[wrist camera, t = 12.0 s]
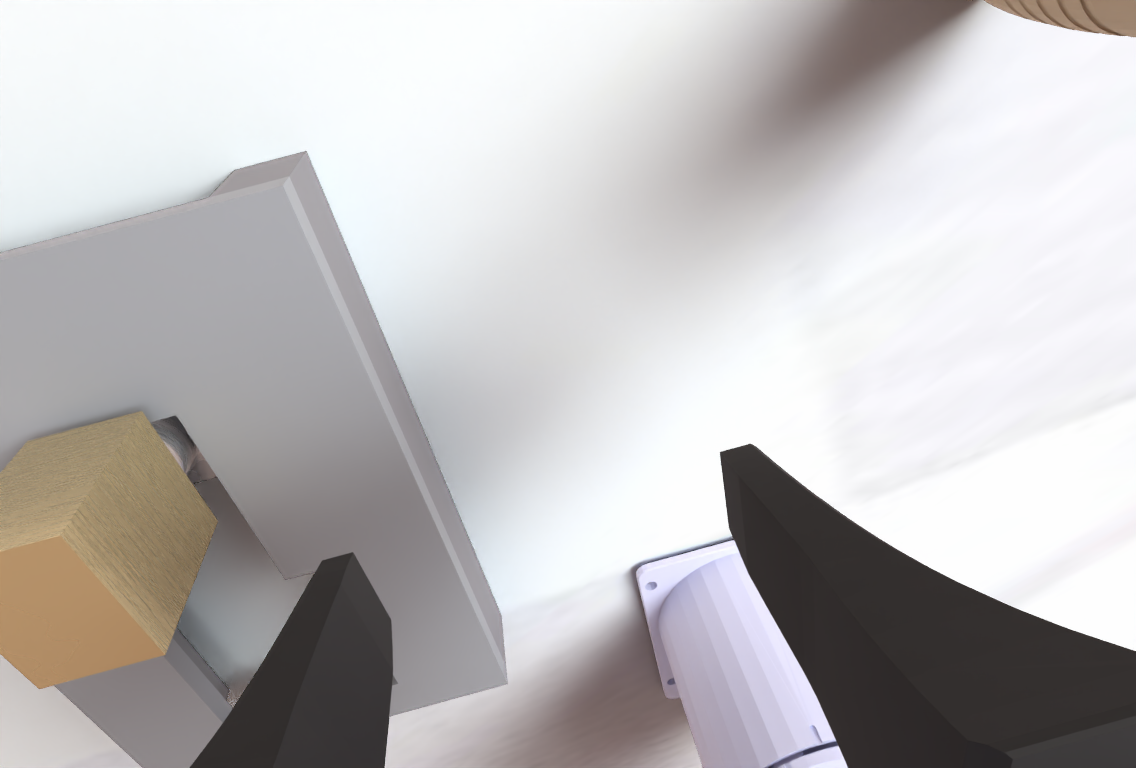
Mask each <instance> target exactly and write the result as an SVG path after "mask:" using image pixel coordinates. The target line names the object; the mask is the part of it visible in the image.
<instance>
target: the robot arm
mask: <svg viewBox="0 0 1136 768" xmlns="http://www.w3.org/2000/svg"><path fill="white" fill-rule="evenodd" d="M720 457H721V465H722V473H723V482H724V490H725V498H726V507H727V515H728V523H729V529H730V531H731V534H732V536H733V538H734V540H732V541H728V542H724V543H721V544H717V545H713V546H710V547H706V548H702V549H699V550H695V551H691V552H688V553H684V554H681V555H677V556H673V557H670V558H666V559H662V560H659V561H655V562H651V563H648V564H645V565H642V566H641V567H640V568H638V570H637V571H636V578H637V582H638V586H639V590H640V594H641V599H642V603H643V607H644V611H645V615H646V619H647V624H648V628H649V632H650V636H651V640H652V645H653V649H654V653H655V657H656V661H657V666H658V670H659V674H660V678H661V682H662V686H663V690H664V694H665V696H666V697H667V698H669V699H677V698H681V701H682V704H683V707H684V710H685V713H686V717H687V720H688V723H689V726H690V729H691V732H692V735H693V738H694V742H695V745H696V748H697V751H698V754H699V757H700V760H701V763H702V767H703V768H1136V651H1133V650H1130V649H1127V648H1124V647H1121V646H1118V645H1115V644H1112V643H1109V642H1106V641H1103V640H1100V639H1097V638H1094V637H1091V636H1088V635H1085V634H1082V633H1079V632H1076V631H1073V630H1070V629H1067V628H1065V627H1062V626H1059V625H1057V624H1054V623H1052V622H1049V621H1047V620H1044V619H1041V618H1039V617H1036V616H1034V615H1031V614H1029V613H1026V612H1023V611H1021V610H1019V609H1016V608H1014V607H1011V606H1009V605H1007V604H1005V603H1002V602H1000V601H998V600H996V599H994V598H991V597H989V596H987V595H985V594H983V593H980V592H978V591H976V590H974V589H972V588H969V587H967V586H965V585H963V584H961V583H958V582H956V581H954V580H952V579H950V578H948V577H947V576H945V575H943V574H941V573H939V572H937V571H935V570H933V569H931V568H929V567H927V566H925V565H924V564H922V563H920V562H918V561H916V560H915V559H913V558H911V557H909V556H907V555H906V554H904V553H902V552H901V551H899V550H897V549H895V548H894V547H892V546H890V545H889V544H887V543H886V542H884V541H882V540H881V539H879V538H877V537H876V536H874V535H873V534H871V533H870V532H868V531H867V530H865V529H864V528H862V527H860V526H859V525H857V524H856V523H854V522H853V521H852V520H850V519H849V518H847V517H846V516H844V515H843V514H841V513H840V512H839V511H837V510H836V509H834V508H833V507H832V506H830V505H829V504H827V503H826V502H825V501H823V500H822V499H821V498H819V497H818V496H816V495H815V494H814V493H812V492H811V491H810V490H808V489H807V488H806V487H805V486H803V485H802V484H801V483H799V482H798V481H797V480H796V479H794V478H793V477H792V476H791V475H789V474H788V473H787V472H786V471H784V470H783V469H782V468H781V467H780V466H778V465H777V464H776V463H775V462H774V461H772V460H771V459H770V458H769V457H768V456H766V455H765V454H764V453H763V452H762V451H761V450H759V449H758V448H757V447H756V446H754V445H752V444H748V445H744V446H741V447H737V448H733V449H730V450H726V451H722V452H720ZM649 582H651V583H649ZM392 680H393V645H392V623H391V618H390V617H389V615H388V613H387V611H386V610H385V608H384V606H383V604H382V602H381V601H380V599H379V597H378V595H377V594H376V592H375V590H374V588H373V586H372V585H371V583H370V581H369V579H368V578H367V576H366V574H365V572H364V570H363V569H362V567H361V565H360V563H359V561H358V560H357V558H356V556H355V554H354V553H353V552H351V553H348V554H344V555H340V556H337V557H333V558H329V559H326V560H322V561H321V563H320V565H319V566H318V568H317V570H316V571H315V573H314V575H313V577H312V578H311V580H310V582H309V583H308V585H307V587H306V589H305V590H304V592H303V594H302V596H301V598H300V599H299V601H298V603H297V605H296V606H295V608H294V610H293V612H292V613H291V615H290V617H289V619H288V620H287V622H286V624H285V626H284V627H283V629H282V631H281V632H280V634H279V636H278V637H277V639H276V641H275V642H274V644H273V646H272V647H271V649H270V651H269V652H268V654H267V656H266V658H265V659H264V661H263V663H262V664H261V666H260V667H259V669H258V671H257V672H256V674H255V675H254V677H253V678H252V680H251V681H250V683H249V685H248V686H247V688H246V689H245V691H244V692H243V694H242V695H241V697H240V698H239V700H238V701H237V703H236V704H235V706H234V707H233V709H232V711H231V712H230V713H229V715H228V716H227V718H226V719H225V721H224V722H223V723H222V725H221V726H220V728H219V729H218V730H217V732H216V733H215V735H214V736H213V737H212V739H211V740H210V741H209V743H208V744H207V745H206V747H205V748H204V749H203V751H202V752H201V753H200V754H199V756H198V757H197V758H196V760H195V761H194V762H193V764H192V765H191V766H190V768H384V766H385V756H386V745H387V735H388V725H389V714H390V703H391V692H392Z"/></svg>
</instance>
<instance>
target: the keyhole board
mask: <svg viewBox="0 0 1136 768" xmlns="http://www.w3.org/2000/svg"><path fill="white" fill-rule="evenodd" d="M139 411H142V412H143V413H144V414H145V416H146V417H147V419H148V420H149V422H153V421H157V420H160V419H164V418H168V417H172V416H175V415H176V416H177V417H178V419H179V420H180V422H181V423H182V425H183V426H184V428H185V429H186V431H187V432H188V434H189V435H190V437H191V438H192V440H193V441H194V443H195V444H196V446H197V447H198V449H199V450H200V452H201V453H202V455H203V456H204V458H205V460H206V461H207V463H208V464H209V466H210V467H211V469H212V470H213V472H214V473H215V475H216V476H217V478H218V479H219V481H220V482H221V484H222V485H223V487H224V488H225V490H226V491H227V493H228V494H229V496H230V497H231V499H232V500H233V502H234V503H235V505H236V506H237V508H238V509H239V511H240V512H241V514H242V515H243V517H244V518H245V520H246V521H247V523H248V524H249V526H250V527H251V529H252V530H253V532H254V534H255V535H256V537H257V538H258V540H259V541H260V543H261V544H262V546H263V547H264V549H265V550H266V552H267V553H268V555H269V556H270V558H271V559H272V561H273V562H274V564H275V565H276V567H277V568H278V570H279V571H280V573H281V574H282V576H283V577H284V579H285V580H287V579H291V578H294V577H298V576H302V575H305V574H309V573H313V572H315V571H316V570H317V568H318V566H319V565H320V563H321V561H322V560H326V559H329V558H333V557H337V556H340V555H344V554H348V553H351V552H353V553H354V554H355V556H356V558H357V560H358V561H359V563H360V565H361V567H362V569H363V570H364V572H365V574H366V576H367V578H368V579H369V581H370V583H371V585H372V586H373V588H374V590H375V592H376V594H377V595H378V597H379V599H380V601H381V602H382V604H383V606H384V608H385V610H386V611H387V613H388V615H389V617H390V618H391V623H392V645H393V680H392V692H391V703H390V714H389V717H390V716H393V715H397V714H400V713H404V712H408V711H411V710H415V709H419V708H422V707H426V706H429V705H433V704H437V703H440V702H444V701H448V700H451V699H455V698H458V697H462V696H466V695H469V694H473V693H477V692H480V691H484V690H487V689H491V688H495V687H498V686H502V685H506V684H508V683H507V672H506V661H505V650H504V639H503V628H502V617H501V613H500V611H499V609H498V606H497V604H496V602H495V599H494V597H493V594H492V592H491V590H490V587H489V585H488V582H487V580H486V578H485V575H484V573H483V571H482V568H481V566H480V563H479V561H478V559H477V556H476V554H475V552H474V549H473V547H472V544H471V542H470V540H469V537H468V535H467V532H466V530H465V528H464V525H463V523H462V521H461V518H460V516H459V513H458V511H457V509H456V506H455V504H454V502H453V499H452V497H451V494H450V492H449V490H448V487H447V485H446V482H445V480H444V478H443V475H442V473H441V471H440V468H439V466H438V463H437V461H436V459H435V456H434V454H433V452H432V449H431V447H430V444H429V442H428V440H427V437H426V435H425V433H424V430H423V428H422V425H421V423H420V421H419V418H418V416H417V413H416V411H415V409H414V406H413V404H412V402H411V399H410V397H409V394H408V392H407V390H406V387H405V385H404V383H403V380H402V378H401V375H400V373H399V371H398V368H397V366H396V363H395V361H394V359H393V356H392V354H391V352H390V349H389V347H388V344H387V342H386V340H385V337H384V335H383V333H382V330H381V328H380V325H379V323H378V321H377V318H376V316H375V313H374V311H373V309H372V306H371V304H370V302H369V299H368V297H367V294H366V292H365V290H364V287H363V285H362V283H361V280H360V278H359V275H358V273H357V271H356V268H355V266H354V263H353V261H352V259H351V256H350V254H349V252H348V249H347V247H346V244H345V242H344V240H343V237H342V235H341V233H340V230H339V228H338V225H337V223H336V221H335V218H334V216H333V213H332V211H331V209H330V206H329V204H328V202H327V199H326V197H325V194H324V192H323V190H322V187H321V185H320V183H319V180H318V178H317V175H316V173H315V171H314V168H313V166H312V164H311V161H310V159H309V156H308V154H307V152H306V151H305V152H301V153H297V154H293V155H290V156H286V157H282V158H278V159H275V160H271V161H267V162H263V163H259V164H256V165H252V166H248V167H244V168H240V169H237V170H234V171H233V172H232V173H231V174H230V175H229V176H228V177H227V178H226V179H225V181H224V182H223V183H222V184H221V185H220V186H219V187H218V188H217V189H216V190H215V191H214V192H213V193H212V194H211V195H210V196H209V197H208V198H205V199H201V200H197V201H194V202H190V203H186V204H182V205H178V206H175V207H171V208H167V209H163V210H160V211H156V212H152V213H148V214H144V215H141V216H137V217H133V218H129V219H125V220H122V221H118V222H114V223H110V224H107V225H103V226H99V227H95V228H91V229H88V230H84V231H80V232H76V233H73V234H69V235H65V236H61V237H57V238H54V239H50V240H46V241H42V242H38V243H35V244H31V245H27V246H23V247H20V248H16V249H12V250H8V251H4V252H1V253H0V473H1V471H2V470H3V469H4V468H5V467H6V466H7V464H8V463H9V462H10V461H11V460H12V459H13V457H14V456H15V455H16V454H17V453H18V451H19V450H20V449H21V448H22V447H23V446H24V444H25V443H26V442H27V441H30V440H34V439H38V438H42V437H45V436H49V435H53V434H57V433H60V432H64V431H68V430H72V429H75V428H79V427H83V426H87V425H91V424H94V423H98V422H102V421H106V420H109V419H113V418H117V417H121V416H124V415H128V414H132V413H136V412H139ZM54 686H55V687H56V688H57V689H58V690H59V691H61V692H62V693H63V694H64V695H65V696H66V697H67V698H68V699H69V700H70V701H71V702H72V703H73V704H75V705H76V706H77V707H78V708H79V709H80V710H81V711H82V712H83V713H84V714H85V715H86V716H87V717H89V718H90V719H91V720H92V721H93V722H94V723H95V724H96V725H97V726H98V727H99V728H100V729H101V730H103V731H104V732H105V733H106V734H107V735H108V736H109V737H110V738H111V739H112V740H113V741H114V742H115V743H117V744H118V745H119V746H120V747H121V748H122V749H123V750H124V751H125V752H126V753H127V754H128V755H129V756H131V757H132V758H133V759H134V760H135V761H136V762H137V763H138V764H139V765H140V766H141V767H142V768H190V766H191V765H192V764H193V762H194V761H195V760H196V758H197V757H198V756H199V754H200V753H201V752H202V751H203V749H204V748H205V747H206V745H207V744H208V743H209V741H210V740H211V739H212V737H213V736H214V735H215V733H216V732H217V730H218V729H219V728H220V726H221V725H222V723H223V722H224V721H225V719H226V718H227V716H228V715H229V713H230V712H231V711H232V709H233V708H232V707H231V705H230V704H229V703H228V702H227V701H226V699H227V696H228V693H229V690H228V688H227V687H226V686H225V685H224V684H223V682H222V681H221V680H220V679H219V678H218V676H217V675H216V674H215V673H214V672H213V671H212V669H211V668H210V667H209V666H208V665H207V663H206V662H205V661H204V660H203V659H202V657H201V656H200V655H199V654H198V653H197V651H196V650H195V649H194V648H193V647H192V646H191V644H190V643H189V642H188V641H187V640H186V638H185V637H184V636H183V635H182V634H181V632H180V631H179V630H178V629H177V628H176V629H175V632H174V634H173V637H172V640H171V642H170V645H169V647H168V650H167V652H166V655H163V656H160V657H156V658H152V659H149V660H145V661H141V662H137V663H134V664H130V665H126V666H123V667H119V668H115V669H112V670H108V671H104V672H101V673H97V674H93V675H90V676H86V677H82V678H79V679H75V680H71V681H68V682H64V683H60V684H56V685H54Z"/></svg>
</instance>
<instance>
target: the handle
mask: <svg viewBox="0 0 1136 768" xmlns="http://www.w3.org/2000/svg"><path fill="white" fill-rule="evenodd" d="M969 1H971V0H969ZM984 1H985V2H987V3H989V4H991V5H992V6H994V7H997V8H999V9H1001V10H1003V11H1006V12H1008V13H1011V14H1014V15H1017V16H1020V17H1023V18H1025V19H1030V20H1033V21H1037V22H1041V23H1046V24H1050V25H1054V26H1059V27H1063V28H1068V29H1072V30H1079V31H1085V32H1092V33H1102V34H1109V35H1118V36H1130V37H1136V0H984Z"/></svg>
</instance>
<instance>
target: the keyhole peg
mask: <svg viewBox="0 0 1136 768" xmlns="http://www.w3.org/2000/svg"><path fill="white" fill-rule="evenodd" d="M215 477H217V476H216V475H215V473H214V472H213V470H212V469H211V467H210V466H209V464H208V463H207V461H206V460H205V458H204V456H203V455H202V453H201V452H200V450H199V449H198V447H197V446H196V444H195V443H194V441H193V440H192V438H191V437H190V435H189V434H188V432H187V431H186V429H185V428H184V426H183V425H182V423H181V422H180V420H179V419H178V417H177V416H176V415H175V416H172V417H168V418H164V419H160V420H157V421H153V422H149V420H148V419H147V417H146V416H145V414H144V413H143V412H142V411H139V412H136V413H132V414H128V415H124V416H121V417H117V418H113V419H109V420H106V421H102V422H98V423H94V424H91V425H87V426H83V427H79V428H75V429H72V430H68V431H64V432H60V433H57V434H53V435H49V436H45V437H42V438H38V439H34V440H30V441H27V442H26V443H25V444H24V446H23V447H22V448H21V449H20V450H19V451H18V453H17V454H16V455H15V456H14V457H13V459H12V460H11V461H10V462H9V463H8V464H7V466H6V467H5V468H4V469H3V470H2V471H1V473H0V654H1V655H2V656H3V657H4V658H5V659H7V660H8V661H9V662H10V663H11V664H12V665H13V666H14V667H15V668H16V669H18V670H19V671H20V672H21V673H22V674H23V675H24V676H25V677H26V678H27V679H29V680H30V681H31V682H32V683H33V684H34V685H35V686H36V687H37V688H38V689H42V688H45V687H49V686H53V685H56V684H60V683H64V682H68V681H71V680H75V679H79V678H82V677H86V676H90V675H93V674H97V673H101V672H104V671H108V670H112V669H115V668H119V667H123V666H126V665H130V664H134V663H137V662H141V661H145V660H149V659H152V658H156V657H160V656H163V655H166V652H167V650H168V647H169V645H170V642H171V640H172V637H173V634H174V632H175V629H176V627H177V624H178V622H179V619H180V617H181V614H182V612H183V609H184V607H185V604H186V601H187V599H188V596H189V594H190V591H191V589H192V586H193V584H194V581H195V579H196V576H197V573H198V571H199V568H200V566H201V563H202V561H203V558H204V556H205V553H206V551H207V548H208V546H209V543H210V540H211V538H212V535H213V533H214V530H215V528H216V525H217V523H218V520H217V519H216V517H215V516H214V514H213V513H212V512H211V510H210V509H209V507H208V506H207V504H206V503H205V501H204V500H203V499H202V497H201V496H200V494H199V493H198V491H197V490H196V488H195V487H194V485H193V484H192V483H196V482H201V481H206V480H209V479H212V478H215Z"/></svg>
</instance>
